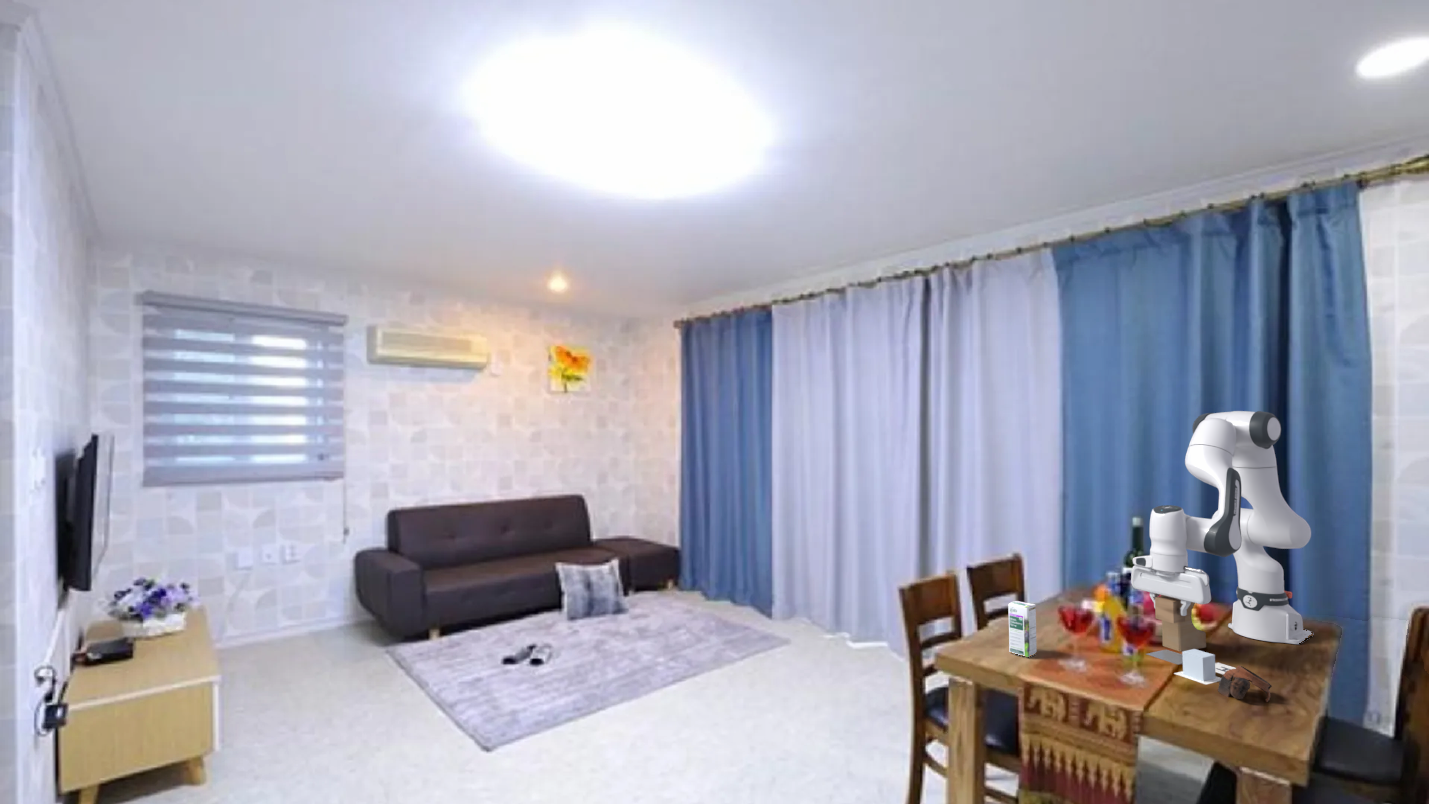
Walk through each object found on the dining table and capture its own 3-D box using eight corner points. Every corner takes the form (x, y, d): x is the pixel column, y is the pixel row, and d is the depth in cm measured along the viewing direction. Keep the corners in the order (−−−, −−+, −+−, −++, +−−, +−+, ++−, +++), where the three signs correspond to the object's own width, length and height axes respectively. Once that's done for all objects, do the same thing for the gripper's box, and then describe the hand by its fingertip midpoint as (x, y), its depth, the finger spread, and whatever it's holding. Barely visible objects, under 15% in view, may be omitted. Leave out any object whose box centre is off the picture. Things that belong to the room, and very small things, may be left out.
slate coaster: (1166, 650, 191) (1166, 649, 191) (1198, 661, 183) (1198, 659, 183) (1145, 655, 187) (1145, 653, 187) (1178, 666, 179) (1178, 664, 179)
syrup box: (1008, 653, 190) (1007, 603, 191) (1018, 648, 194) (1016, 599, 195) (1028, 658, 186) (1026, 607, 186) (1037, 653, 190) (1036, 603, 190)
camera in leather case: (1216, 687, 166) (1235, 661, 165) (1259, 715, 159) (1279, 688, 158) (1209, 689, 158) (1229, 661, 157) (1254, 718, 151) (1275, 690, 150)
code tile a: (1218, 663, 180) (1218, 662, 180) (1251, 674, 173) (1251, 672, 173) (1199, 668, 177) (1199, 666, 177) (1232, 679, 170) (1232, 677, 170)
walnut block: (1167, 616, 189) (1166, 595, 189) (1185, 621, 184) (1184, 599, 184) (1155, 618, 187) (1155, 597, 187) (1173, 623, 182) (1173, 601, 182)
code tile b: (1192, 670, 176) (1192, 668, 176) (1225, 680, 169) (1225, 679, 169) (1173, 675, 173) (1173, 673, 173) (1206, 686, 166) (1206, 684, 166)
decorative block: (1188, 642, 198) (1186, 576, 198) (1207, 648, 192) (1205, 580, 193) (1161, 646, 194) (1159, 579, 195) (1179, 653, 189) (1177, 583, 190)
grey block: (1195, 671, 174) (1194, 648, 174) (1215, 678, 170) (1214, 654, 170) (1183, 674, 172) (1182, 651, 172) (1203, 681, 168) (1202, 657, 168)
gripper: (1215, 569, 177) (1217, 620, 177) (1141, 555, 196) (1142, 602, 196) (1200, 571, 175) (1202, 623, 175) (1127, 557, 194) (1128, 604, 193)
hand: (1170, 612), depth 185 cm, fingers closed on walnut block, 5 cm apart
